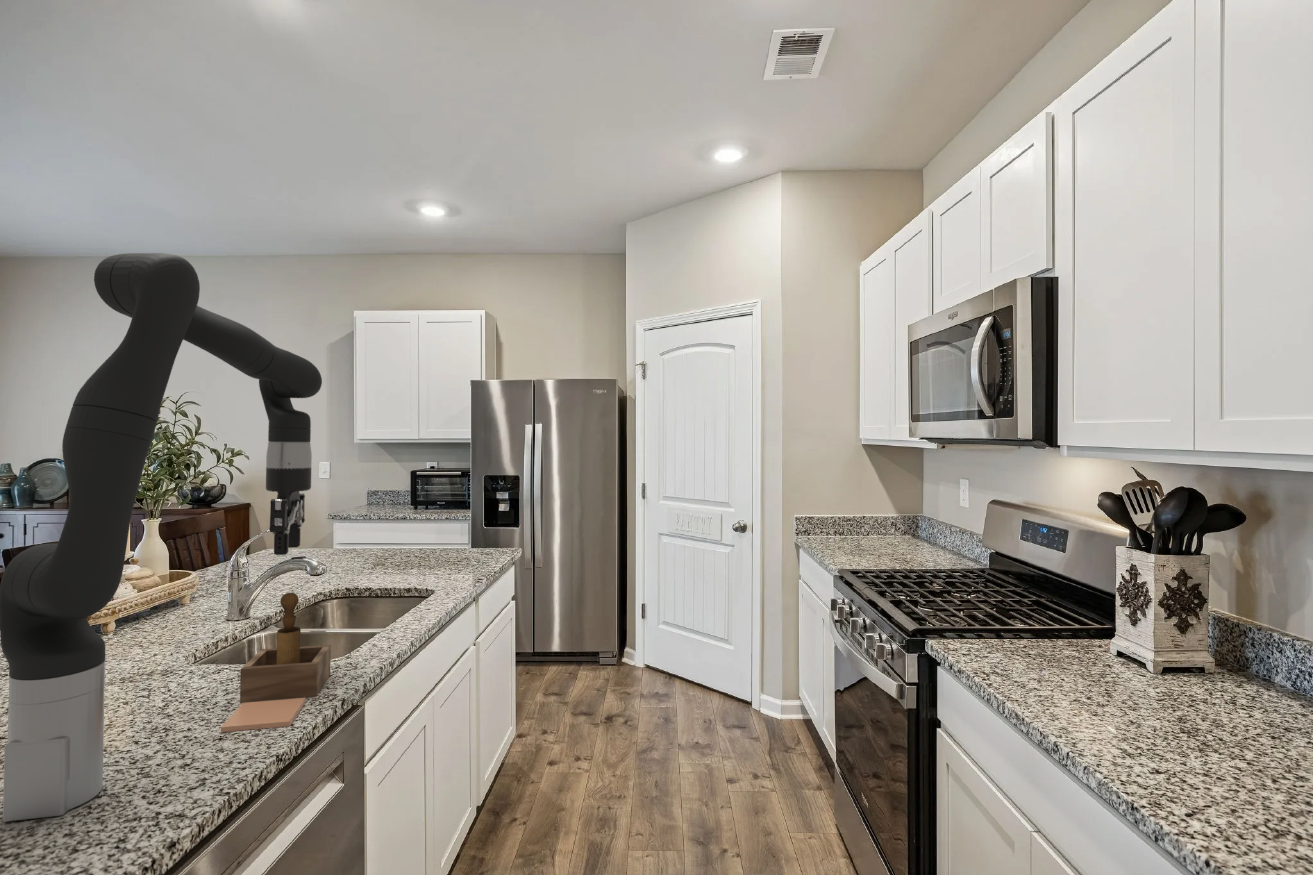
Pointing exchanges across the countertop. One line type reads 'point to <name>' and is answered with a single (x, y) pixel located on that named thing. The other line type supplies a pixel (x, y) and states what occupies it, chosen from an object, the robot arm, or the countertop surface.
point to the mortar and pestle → (288, 633)
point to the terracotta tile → (264, 714)
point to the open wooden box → (285, 675)
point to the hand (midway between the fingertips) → (287, 550)
